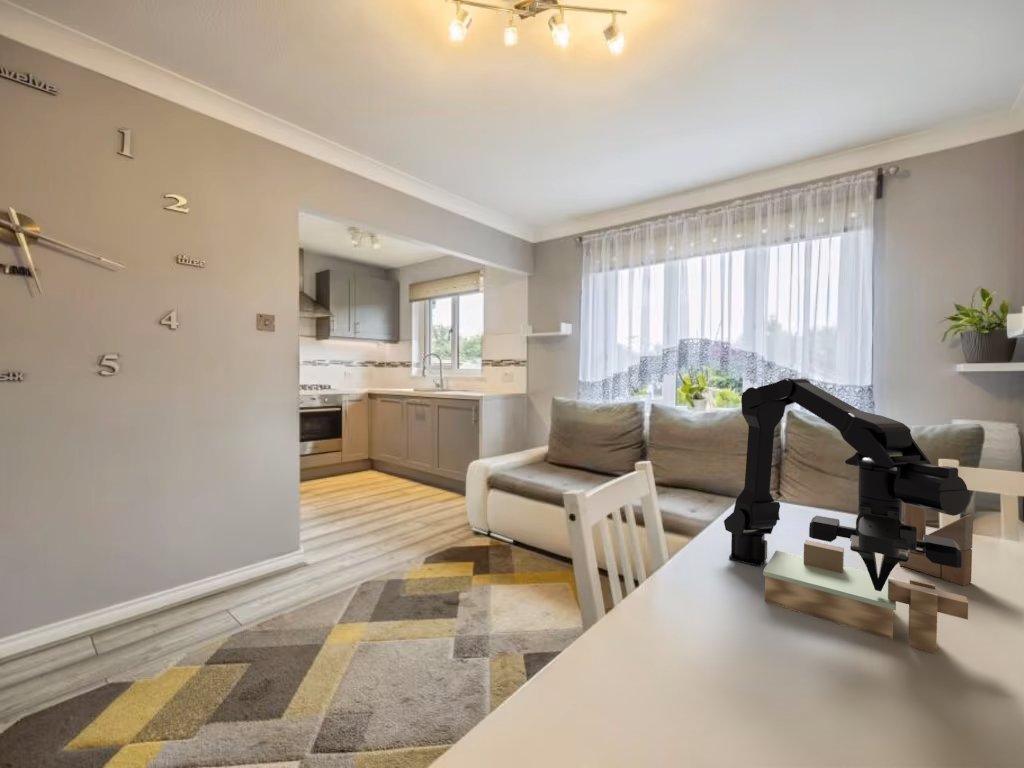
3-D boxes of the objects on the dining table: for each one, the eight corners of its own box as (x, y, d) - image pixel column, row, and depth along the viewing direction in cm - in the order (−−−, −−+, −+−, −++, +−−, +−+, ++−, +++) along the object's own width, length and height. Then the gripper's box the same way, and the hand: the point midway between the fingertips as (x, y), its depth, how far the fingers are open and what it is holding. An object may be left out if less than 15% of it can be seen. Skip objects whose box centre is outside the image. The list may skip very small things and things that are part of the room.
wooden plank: (887, 599, 71) (888, 584, 71) (887, 593, 72) (888, 578, 72) (967, 619, 65) (968, 603, 65) (965, 612, 67) (965, 596, 67)
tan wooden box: (764, 602, 81) (765, 554, 81) (776, 578, 91) (777, 535, 90) (936, 654, 66) (937, 595, 66) (929, 619, 76) (931, 568, 75)
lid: (763, 575, 81) (763, 549, 81) (775, 554, 91) (776, 531, 91) (895, 610, 69) (896, 580, 69) (894, 582, 79) (895, 555, 79)
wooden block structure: (963, 586, 88) (966, 497, 87) (898, 565, 97) (900, 485, 97) (972, 582, 89) (974, 495, 89) (906, 562, 99) (908, 483, 99)
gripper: (805, 496, 72) (803, 589, 72) (967, 521, 60) (965, 633, 60) (813, 483, 80) (812, 567, 81) (958, 503, 68) (955, 602, 69)
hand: (878, 590), depth 72 cm, fingers closed
